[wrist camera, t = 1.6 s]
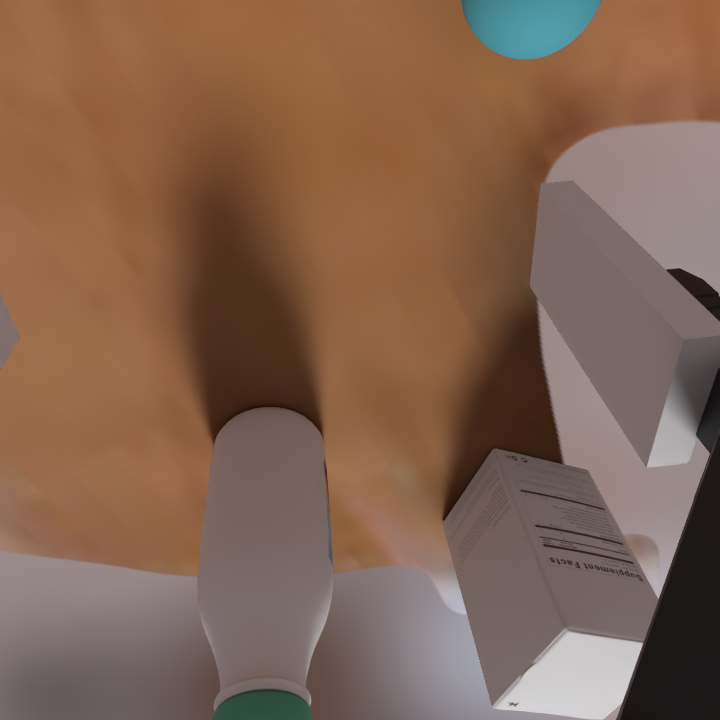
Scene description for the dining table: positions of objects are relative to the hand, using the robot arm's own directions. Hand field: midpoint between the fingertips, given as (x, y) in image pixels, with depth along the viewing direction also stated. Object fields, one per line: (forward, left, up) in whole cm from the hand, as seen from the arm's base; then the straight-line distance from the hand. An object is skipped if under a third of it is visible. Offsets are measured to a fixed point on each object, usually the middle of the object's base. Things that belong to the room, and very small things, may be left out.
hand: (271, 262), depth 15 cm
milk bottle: (+24, -5, -20) cm, 31 cm away
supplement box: (+33, +13, -20) cm, 40 cm away
